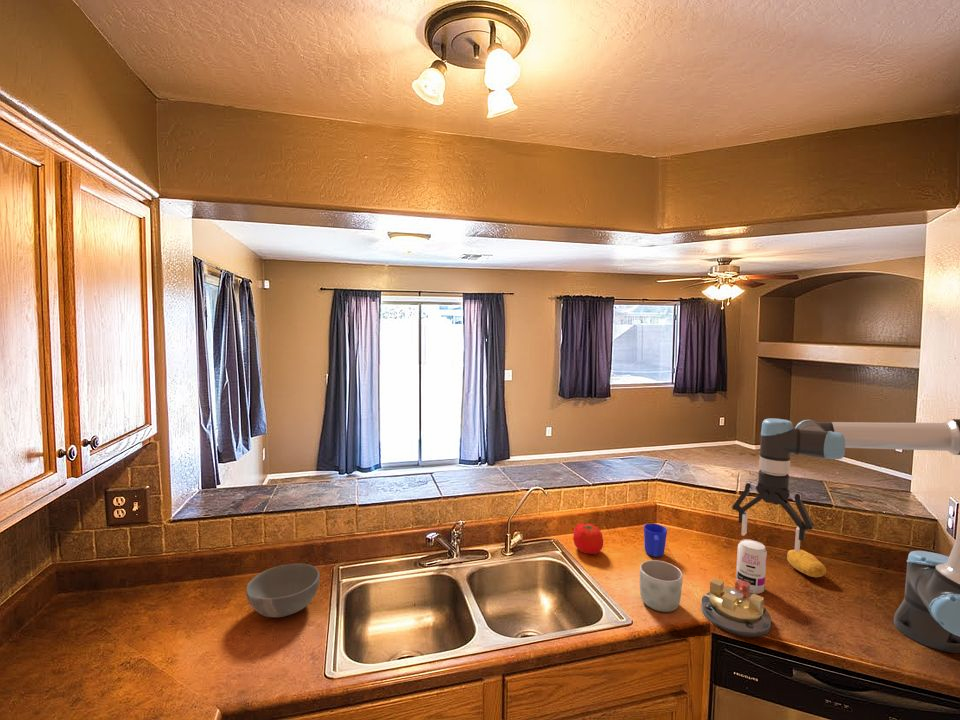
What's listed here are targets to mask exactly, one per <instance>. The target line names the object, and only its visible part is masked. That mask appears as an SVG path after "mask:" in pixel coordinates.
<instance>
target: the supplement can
mask: <svg viewBox="0 0 960 720" xmlns="http://www.w3.org/2000/svg"><path fill="white" fill-rule="evenodd" d="M736 555H737V556H736V572H735V582H736V581H737V580H738V579H740V580H743V581H746V582H748V583H750V592H749V593H750V594H756V595H759V594H762V593H763V592H765V587H766V586H765V585H766V572H767V555H768V551H767V550H766V546H765V545H764V544H763V543H762V542H759V541H756V540H753V539H749V538H747V539H746V538H745V539H740V542H739V543H738V544H737V554H736Z"/></svg>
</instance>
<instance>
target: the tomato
mask: <svg viewBox="0 0 960 720" xmlns="http://www.w3.org/2000/svg"><path fill="white" fill-rule="evenodd" d="M572 537H573V538H572V539H573V543H574V546H575V548H577V550H578V551H579V552H581V553H584V554H586V555H596V554H598V553H600V552H601V550H602V549H603V547H604V539H603V533H602V531H601V530H600V529H599V528H598V527H596V526H595V525H594V524H592V523H591V524H590V523H587V524H586V523H582V522H581V523H578V524H577V525H576V526H575V527H574V529H573V536H572Z"/></svg>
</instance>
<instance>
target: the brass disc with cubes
mask: <svg viewBox="0 0 960 720" xmlns="http://www.w3.org/2000/svg"><path fill="white" fill-rule="evenodd" d="M709 583H710V584H709V586H710V587H709V592H710V596H709V603H710V605H711V607H712V608H713V609H714V610H715V611H716V612H717V613H719V614H720V615H722V616H724V617H726V618H728V619H731V620H734V621H737V622H742V623H756V622H759V621H760V620H761V619H762V618H763V607H765V606H764V605H765V604H764V603H765V602H764V601H765V597H763V596H761V595H759V594H752V593H749V592H750V583H748V582H746V581H743V580H740V579H738V580H737V581H736V580H735V582H734V583H735V585H734V587H733V586H725V581H723V580H720V579H718V578H716V577H714V578H713V579H712V580H711V581H710V582H709ZM730 589H737V590H739V591H741V592H742V593H743V602H740V603H739V602H737V599H738V597H736V596H733V595H731V594H729V590H730Z"/></svg>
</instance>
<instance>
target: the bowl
mask: <svg viewBox="0 0 960 720" xmlns="http://www.w3.org/2000/svg"><path fill="white" fill-rule="evenodd" d="M319 584H320V571H319V569H318V568H317V567H315V566H314V565H312V564H307V563H301V562H300V563H288V564H281V565H278V566H273V567H270V568H268V569H266V570H264V571H262V572H260V573H258V574H256V575H255V576H254V577H253V578H252V579H251V580H249V582H248V583H247V585H246V589H245V594H246V599H247V601H248V603H249V605H250V606H251V607H252V609H253V610H254V611H255V612H257V613H258V614H260V615H261V616H264V617H267V618H283V617H287V616H291V615H293V614H295V613H298V612H300V611H302V610H303V609H305V607H308V605H309V603H310V602H311V601H312V600H313V599H314V597H315V596H316V594H317V591H318V588H319Z"/></svg>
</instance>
